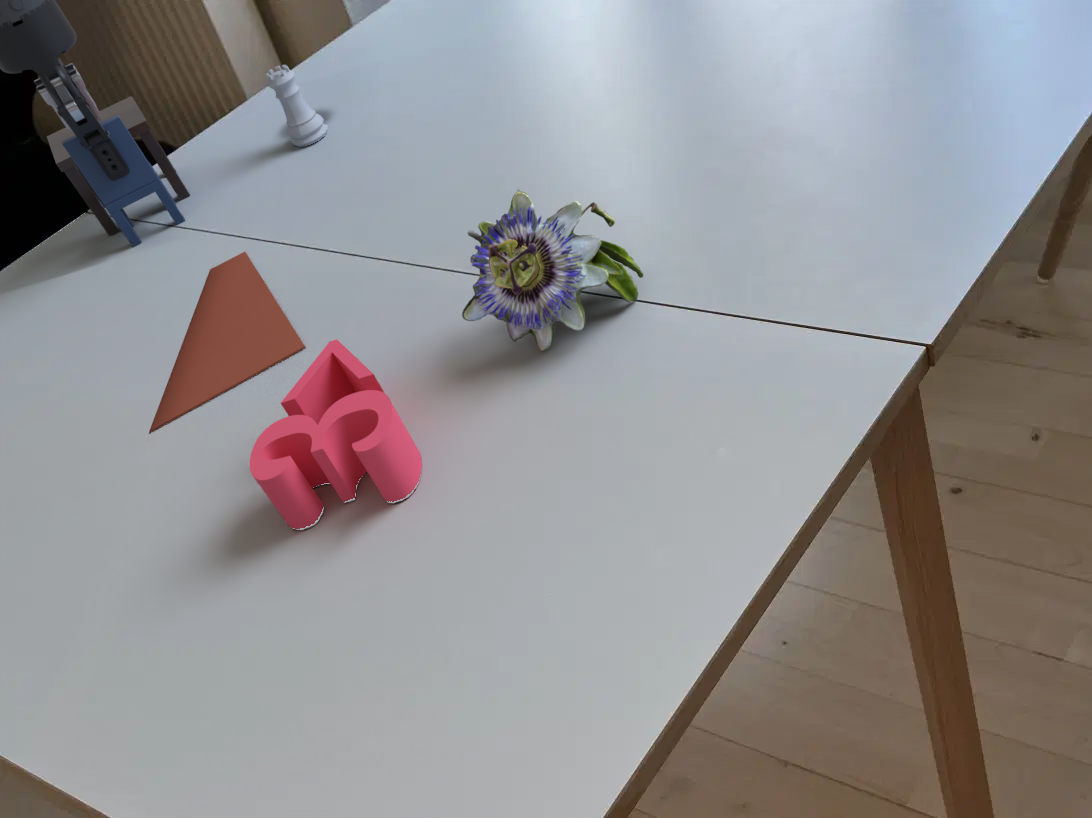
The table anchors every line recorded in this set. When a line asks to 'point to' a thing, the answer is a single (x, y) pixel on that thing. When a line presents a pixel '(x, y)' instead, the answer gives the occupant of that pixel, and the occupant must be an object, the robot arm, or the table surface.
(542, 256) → the passion flower
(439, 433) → the table surface
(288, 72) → the rook chess piece
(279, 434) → the letters
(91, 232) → the table surface
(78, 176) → the side table
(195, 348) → the flat trapezoid
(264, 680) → the table surface
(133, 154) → the chair
